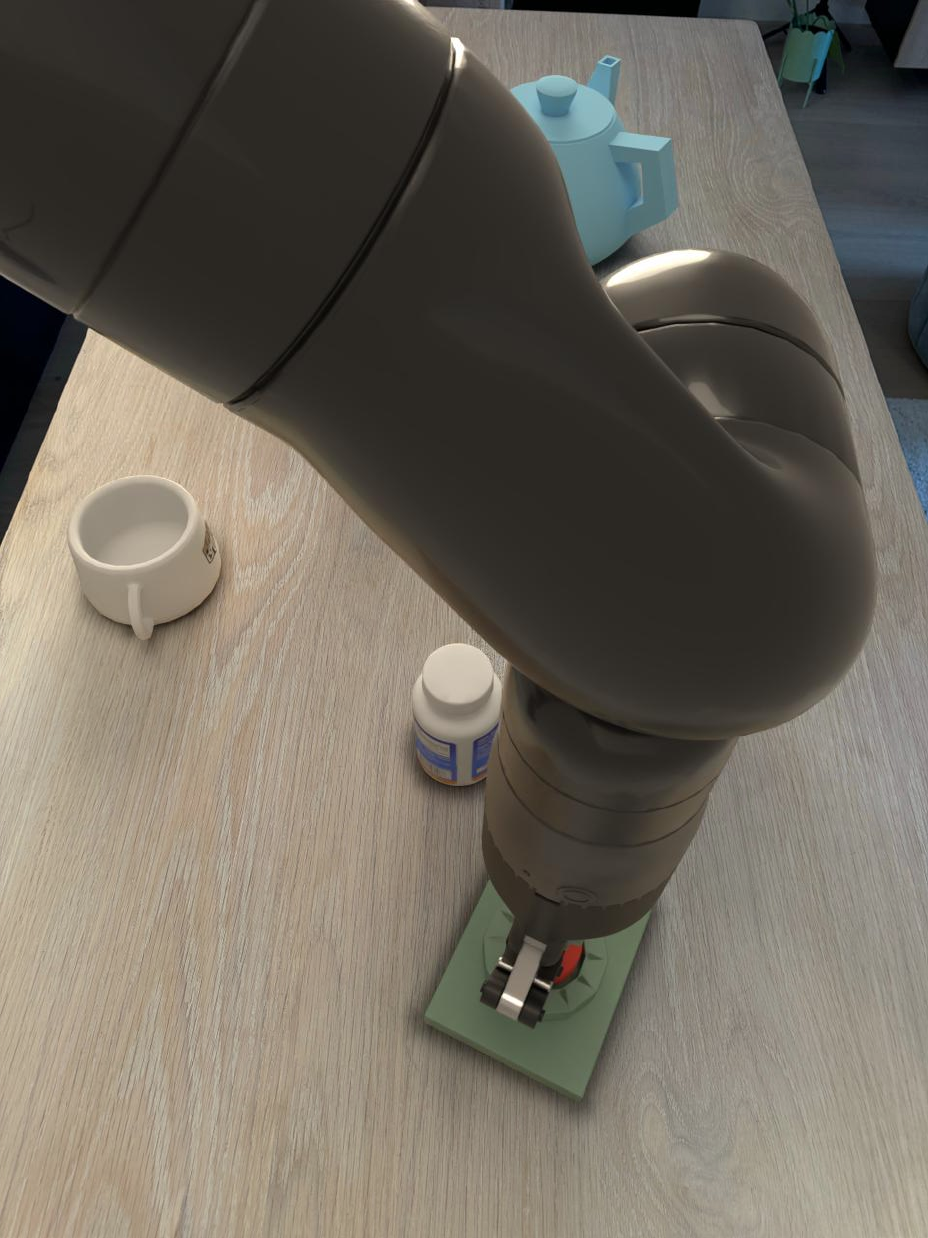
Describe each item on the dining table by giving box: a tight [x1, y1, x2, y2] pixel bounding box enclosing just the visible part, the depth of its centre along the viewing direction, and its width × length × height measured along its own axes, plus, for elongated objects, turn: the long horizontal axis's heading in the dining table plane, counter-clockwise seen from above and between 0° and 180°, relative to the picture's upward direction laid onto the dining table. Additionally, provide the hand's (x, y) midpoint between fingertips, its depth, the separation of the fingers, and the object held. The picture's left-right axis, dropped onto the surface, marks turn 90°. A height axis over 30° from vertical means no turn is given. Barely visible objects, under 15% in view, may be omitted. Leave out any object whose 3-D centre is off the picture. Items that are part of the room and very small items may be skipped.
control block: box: [423, 877, 654, 1103], centre depth 52 cm, size 11×9×4 cm
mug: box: [66, 474, 222, 641], centre depth 65 cm, size 12×10×6 cm
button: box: [554, 943, 583, 984], centre depth 50 cm, size 4×4×2 cm
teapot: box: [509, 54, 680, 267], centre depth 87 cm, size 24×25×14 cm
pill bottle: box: [411, 642, 503, 787], centre depth 56 cm, size 5×5×10 cm
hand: (546, 938), depth 48 cm, fingers closed
